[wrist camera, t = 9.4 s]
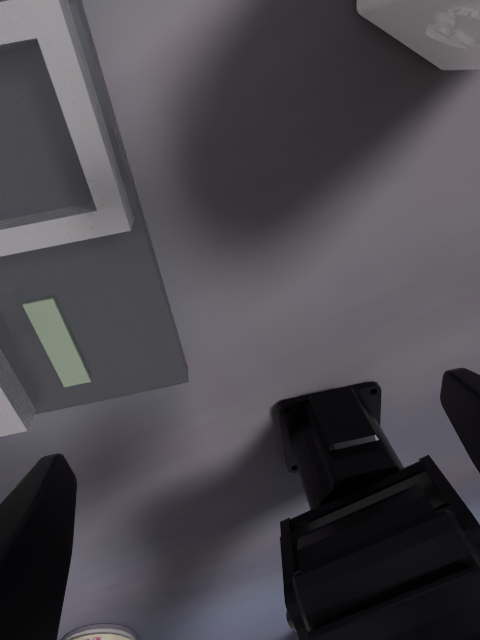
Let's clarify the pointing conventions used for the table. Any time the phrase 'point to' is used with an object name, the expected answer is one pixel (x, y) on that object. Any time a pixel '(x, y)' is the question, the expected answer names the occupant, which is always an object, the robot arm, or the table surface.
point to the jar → (431, 28)
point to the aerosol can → (101, 633)
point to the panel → (70, 230)
